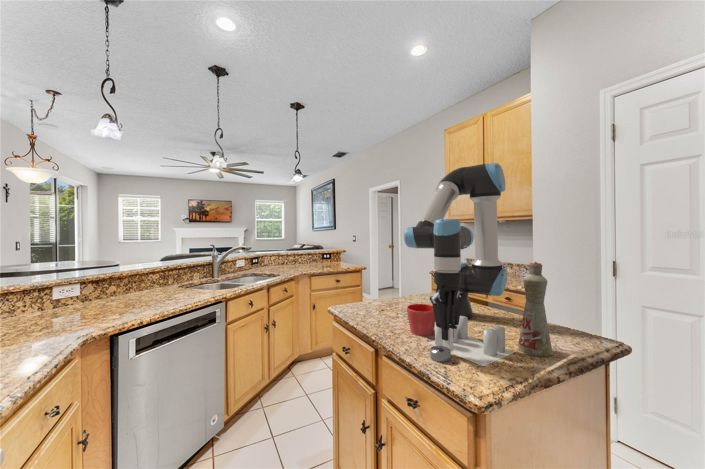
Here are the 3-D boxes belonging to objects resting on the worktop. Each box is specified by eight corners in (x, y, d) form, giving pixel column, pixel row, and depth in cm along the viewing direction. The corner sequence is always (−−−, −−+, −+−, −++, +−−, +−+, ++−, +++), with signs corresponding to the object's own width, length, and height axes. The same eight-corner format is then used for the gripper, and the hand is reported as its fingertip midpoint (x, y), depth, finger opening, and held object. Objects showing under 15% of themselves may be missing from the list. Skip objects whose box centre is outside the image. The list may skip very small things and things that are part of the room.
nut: (438, 353, 87) (437, 343, 86) (454, 360, 82) (454, 349, 82) (426, 359, 83) (426, 349, 83) (443, 366, 79) (442, 355, 79)
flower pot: (439, 340, 98) (438, 311, 98) (406, 338, 100) (406, 310, 100) (436, 329, 108) (436, 304, 108) (407, 328, 111) (406, 303, 111)
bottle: (557, 361, 81) (556, 263, 81) (521, 357, 84) (520, 262, 84) (548, 349, 89) (547, 260, 89) (515, 345, 92) (514, 259, 92)
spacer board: (458, 334, 103) (458, 313, 103) (514, 354, 86) (514, 329, 86) (427, 344, 94) (427, 321, 94) (483, 368, 77) (482, 340, 77)
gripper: (451, 268, 91) (451, 341, 91) (422, 271, 84) (422, 350, 84) (472, 270, 85) (472, 349, 85) (442, 274, 78) (443, 360, 78)
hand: (447, 350), depth 85 cm, fingers closed
